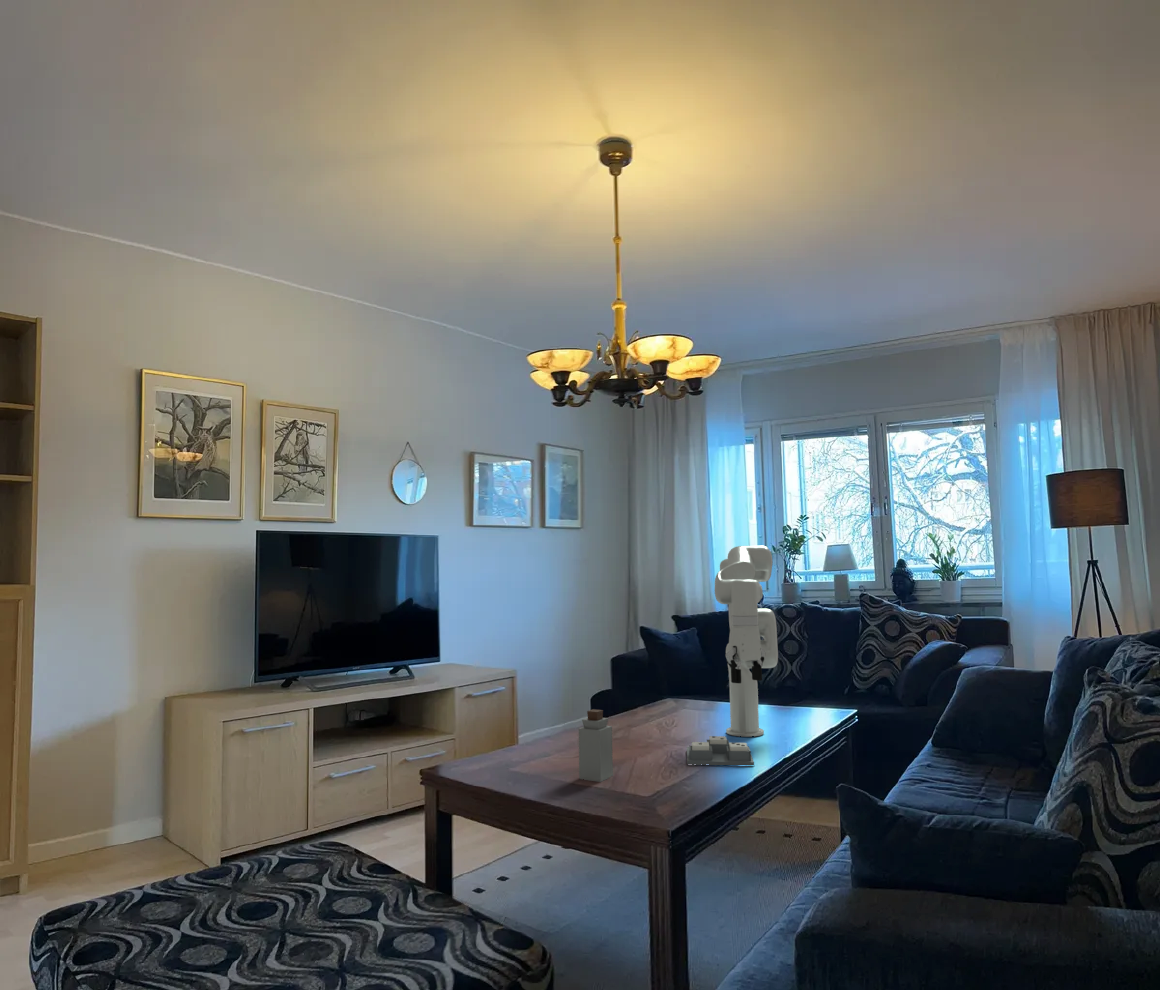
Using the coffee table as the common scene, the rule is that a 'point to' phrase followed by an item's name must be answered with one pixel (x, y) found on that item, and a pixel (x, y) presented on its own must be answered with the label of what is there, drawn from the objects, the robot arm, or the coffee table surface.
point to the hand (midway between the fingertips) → (746, 681)
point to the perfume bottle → (595, 748)
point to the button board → (719, 756)
